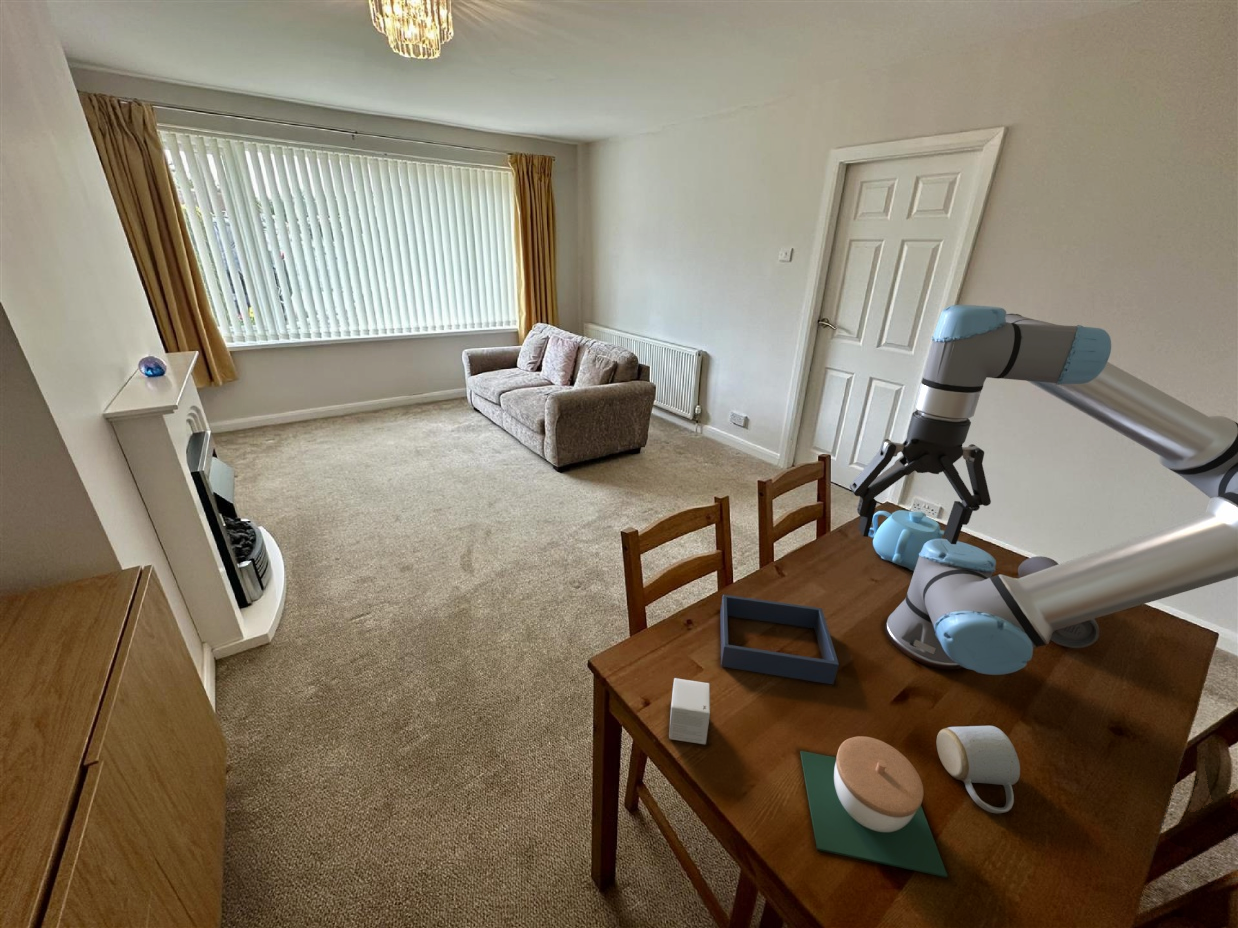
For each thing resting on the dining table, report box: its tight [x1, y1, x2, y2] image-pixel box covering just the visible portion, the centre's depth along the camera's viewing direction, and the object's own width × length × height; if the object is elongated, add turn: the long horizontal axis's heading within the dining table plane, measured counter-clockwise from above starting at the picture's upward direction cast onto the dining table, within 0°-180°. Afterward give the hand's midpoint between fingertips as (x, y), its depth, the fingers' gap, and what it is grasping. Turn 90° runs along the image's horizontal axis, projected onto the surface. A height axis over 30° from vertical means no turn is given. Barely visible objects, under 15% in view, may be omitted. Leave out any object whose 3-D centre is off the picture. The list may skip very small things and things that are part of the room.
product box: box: [668, 677, 711, 745], centre depth 79 cm, size 6×6×7 cm
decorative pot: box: [868, 509, 945, 572], centre depth 126 cm, size 16×16×14 cm
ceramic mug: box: [935, 725, 1021, 814], centre depth 72 cm, size 11×8×8 cm
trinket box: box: [834, 735, 925, 832], centre depth 67 cm, size 11×11×9 cm
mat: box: [799, 750, 948, 878], centre depth 69 cm, size 16×14×1 cm
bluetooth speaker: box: [1017, 555, 1100, 649], centre depth 106 cm, size 23×9×10 cm, turn 154°
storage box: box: [719, 594, 840, 685], centre depth 97 cm, size 21×16×5 cm
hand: (905, 536), depth 80 cm, fingers open, 13 cm apart
